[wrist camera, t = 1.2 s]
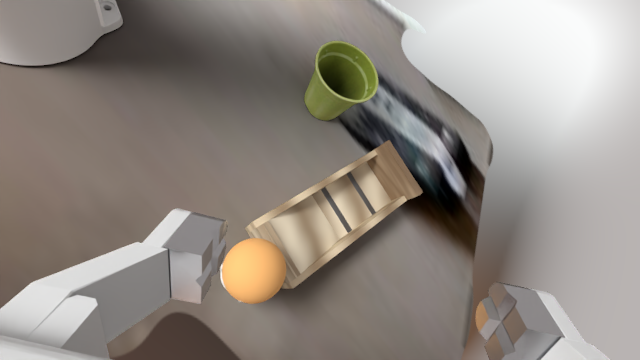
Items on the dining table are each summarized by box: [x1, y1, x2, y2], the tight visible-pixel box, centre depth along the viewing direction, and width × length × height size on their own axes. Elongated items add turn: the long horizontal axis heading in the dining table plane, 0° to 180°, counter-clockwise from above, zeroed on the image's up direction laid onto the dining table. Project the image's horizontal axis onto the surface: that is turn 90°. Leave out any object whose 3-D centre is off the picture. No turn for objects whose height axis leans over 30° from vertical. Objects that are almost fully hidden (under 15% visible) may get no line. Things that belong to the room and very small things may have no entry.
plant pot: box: [304, 41, 378, 121], centre depth 46 cm, size 9×9×9 cm
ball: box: [222, 238, 286, 304], centre depth 30 cm, size 6×6×6 cm
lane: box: [245, 140, 423, 289], centre depth 41 cm, size 22×9×7 cm, turn 126°
